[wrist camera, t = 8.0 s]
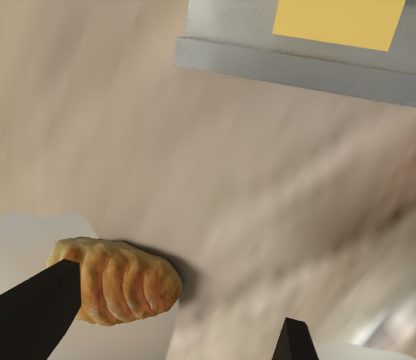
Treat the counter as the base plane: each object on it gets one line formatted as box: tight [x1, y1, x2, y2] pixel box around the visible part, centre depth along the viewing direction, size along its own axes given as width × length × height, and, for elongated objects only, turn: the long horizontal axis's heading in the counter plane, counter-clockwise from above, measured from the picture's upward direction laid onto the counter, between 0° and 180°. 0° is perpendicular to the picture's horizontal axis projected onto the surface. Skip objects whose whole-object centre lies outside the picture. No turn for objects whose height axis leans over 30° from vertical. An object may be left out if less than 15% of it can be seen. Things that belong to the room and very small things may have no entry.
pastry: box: [46, 237, 182, 326], centre depth 23 cm, size 9×7×4 cm
